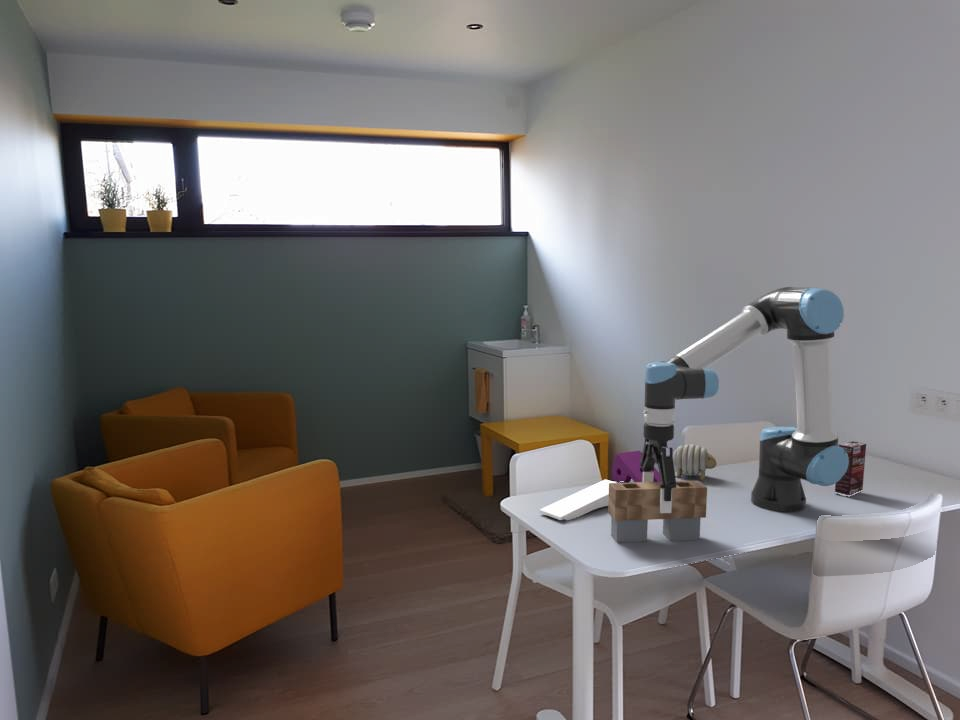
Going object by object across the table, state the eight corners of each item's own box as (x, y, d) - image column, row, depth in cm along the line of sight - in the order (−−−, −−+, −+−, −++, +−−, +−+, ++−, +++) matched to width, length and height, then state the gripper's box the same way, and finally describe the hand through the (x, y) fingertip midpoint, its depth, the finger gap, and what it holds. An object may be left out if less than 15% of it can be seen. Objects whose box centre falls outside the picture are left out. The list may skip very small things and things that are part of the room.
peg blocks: (691, 532, 191) (693, 496, 190) (699, 539, 186) (701, 502, 185) (611, 535, 189) (612, 498, 187) (616, 542, 184) (617, 504, 182)
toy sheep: (715, 483, 235) (716, 450, 233) (662, 478, 240) (663, 445, 239) (716, 474, 245) (717, 442, 243) (665, 470, 250) (666, 438, 249)
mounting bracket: (662, 506, 230) (632, 469, 244) (671, 486, 226) (639, 450, 240) (639, 510, 226) (609, 473, 240) (647, 490, 222) (616, 453, 235)
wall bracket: (561, 542, 200) (627, 508, 216) (564, 520, 197) (630, 488, 214) (537, 524, 206) (602, 493, 223) (539, 502, 204) (605, 472, 221)
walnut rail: (696, 509, 191) (697, 480, 190) (705, 517, 185) (707, 487, 184) (608, 512, 188) (608, 483, 187) (614, 520, 182) (615, 490, 181)
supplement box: (849, 498, 220) (853, 447, 218) (834, 494, 224) (837, 444, 222) (863, 493, 225) (867, 443, 223) (848, 489, 229) (851, 440, 227)
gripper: (629, 413, 195) (627, 489, 198) (661, 434, 171) (658, 521, 173) (656, 413, 196) (653, 488, 199) (692, 434, 172) (688, 520, 174)
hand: (656, 504), depth 186 cm, fingers open, 13 cm apart
